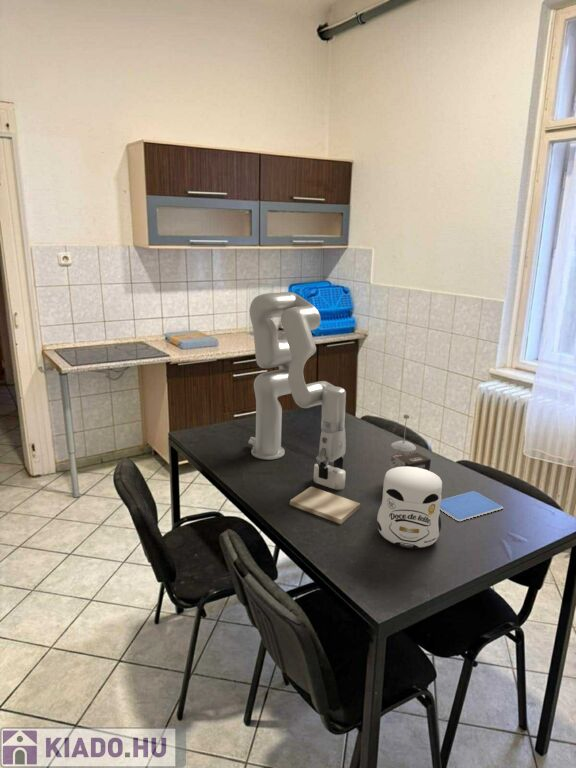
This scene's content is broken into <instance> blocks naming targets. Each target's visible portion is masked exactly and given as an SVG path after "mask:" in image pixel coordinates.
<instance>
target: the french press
mask: <svg viewBox="0 0 576 768" xmlns="http://www.w3.org/2000/svg"><path fill="white" fill-rule="evenodd" d="M403 418H404V419H405V421H407V419H410V415H409V414H408V413H407V414H406V413H405V414H403ZM406 427H407V422H405V426H404V431H406V429H407V428H406ZM405 438H406V432H404V435H403V440H397V441H394V442H392V443H391V448H392V449H393V450H394V451H397V452H399V453H394V454H391V458H390V460H389V470H390V469H392V468H394V467H395V458H396V457H397V456H402V455H408V454H412V452H413V453H416V452H415V451H416V449H417V447H416V445H414V444H413V443H412V442H410V441H406V439H405ZM389 470H388V471H389Z"/></svg>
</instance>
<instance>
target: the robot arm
mask: <svg viewBox="0 0 576 768" xmlns="http://www.w3.org/2000/svg"><path fill="white" fill-rule="evenodd" d="M249 317H250V322H251V325H252V330H253V340H254V352H255V353H254V354H255V361H256V364H257V366H258V367H259V368H262V369H272V368H277V367H278V369H276V370H275V369H274V370H270V371H266V372H261V373H260V374H258V375H257V376H256V377H255V378H254V382H253V389H254V395H255V396H254V397H255V437H254V436H250V437H249V440H248V444H250V445H252V448H251V451H250V452H251V455H252V456H253V457H255V458H257V459H260V460H277V459H280V458H282V457H283V456H284V455H285V448H283V447H282V419H283V415H282V414H283V409H282V405H281V403H280V401H279V399H278V398H279V397H282V396H284V395H285V396H286V395H289V394H290V395H291V396H292V399H293V401H294V402H295V404H296V405H297V406H298V407H299V408H303V409H308V408H312V407H315V406H316V407H317V406H320V405H321V424H320V426H321V427H320V428H321V429H320V430H321V433H320V439H319V445H318V446H319V447H318V449H319V451H318V455H317V456H316V457H315V459H316V460H315V461H316V464H318V467H319V478H322V479H326V480H327V479H328V468H327V466H328V465H329V464H330V463H333V467H336V468H339V469H343V466H344V458H345V454H346V447H347V442H346V441H347V440H346V438H347V437H346V428H345V425H346V424H345V421H346V420H345V419H346V402H347V401H346V399H347V391H346V390H345V388H343V387H340V386H335V385H333V384H332V383H331V382H328V381H326V380H321V381H320V380H319V381H315V382H310V383H307V384H306V381H305V376H304V370H305V369H304V368H305V365H306V362H307V361H308V360H309V359H310V357H312V356H313V355H315V353H316V352H317V346H316V344H315V340H314V337H313V335H312V331H314V330H317V329H318V328H319V327H320V325H321V322H322V321H321V320H322V319H321V318H322V317H321V314H320V312H319V310H318V309H317V308H316V307H315V306H314V305H313V304H311V302H309V301H308V300H307V299H305V298H303V297H302V296H300V295H299V294H297V293H295V292H291V291H286V292H284V291H283V292H269V293H263V294H262V293H261V294H259V295H257V296H255V297H254V298H253V299H252V301H251V303H250V305H249ZM272 318H280V323H281V326H282V328H283V333H284V336H285V339H279V335H278V334H279V333H278V328H277V326H276V324H275V322H274V321H273V320H272ZM324 461H325V462H324ZM343 470H344V469H343Z"/></svg>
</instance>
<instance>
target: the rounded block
mask: <svg viewBox="0 0 576 768" xmlns="http://www.w3.org/2000/svg"><path fill="white" fill-rule="evenodd" d="M327 468H328V479H327V480H326V479H322V478H319V467H318V464H317V463H314V468H313V482H314V483H315V484H319V485H321V486H324V487H328V488H329V489H334V490H337V491H340V490H341V491H342V490H344V489H345V487H346V486H345V484H346V473H347V472H346V470H344V469H339V468H336V467H334V465H333V466H332V465H329V464H328V466H327Z"/></svg>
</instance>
